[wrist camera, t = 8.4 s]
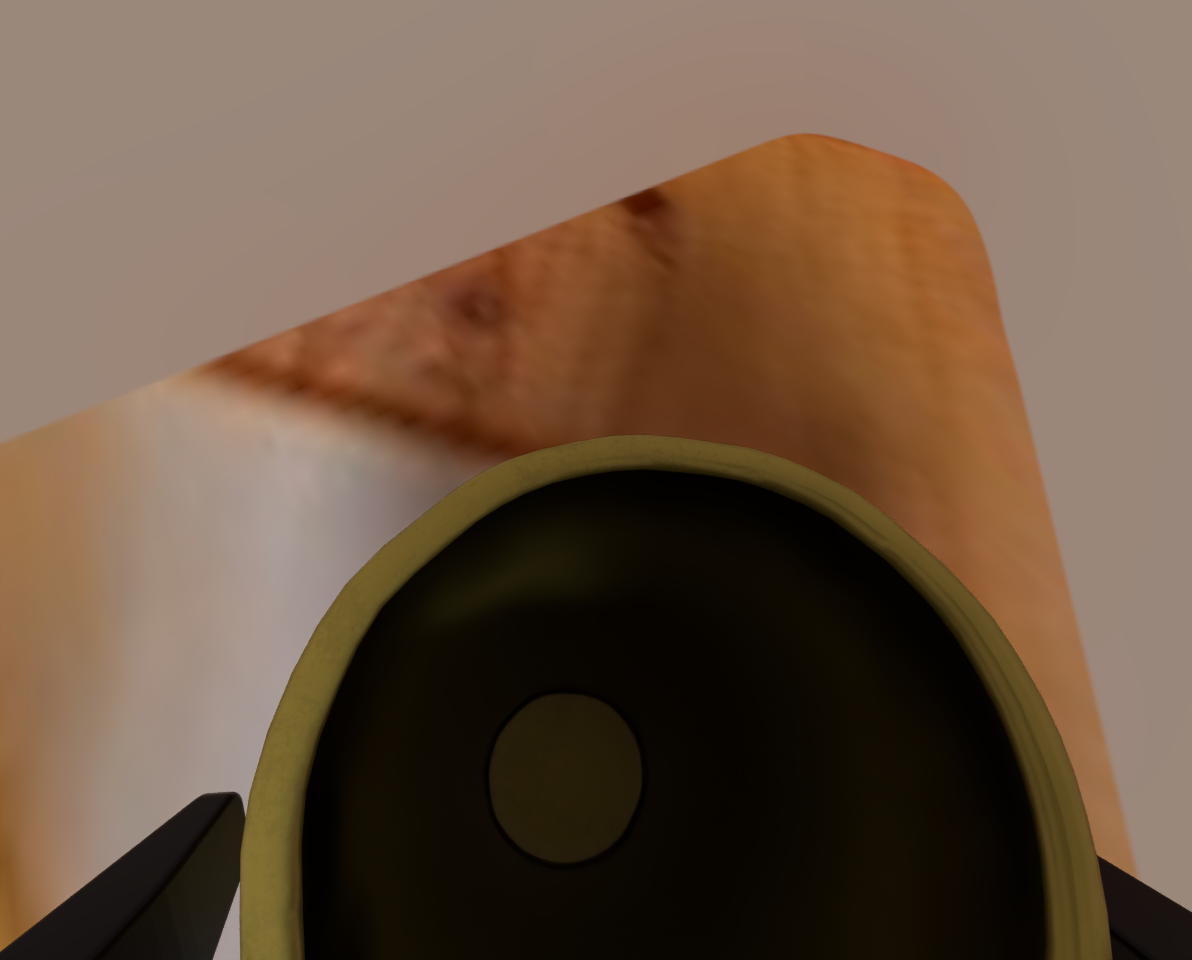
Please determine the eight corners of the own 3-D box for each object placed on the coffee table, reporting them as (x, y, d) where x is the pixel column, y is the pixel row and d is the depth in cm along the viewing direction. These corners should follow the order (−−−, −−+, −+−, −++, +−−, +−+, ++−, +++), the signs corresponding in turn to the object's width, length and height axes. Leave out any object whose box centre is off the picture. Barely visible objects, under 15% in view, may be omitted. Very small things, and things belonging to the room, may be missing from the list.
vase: (442, 688, 17) (174, 439, 4) (638, 642, 18) (898, 340, 5) (472, 939, 14) (-11, 2391, 1) (698, 865, 15) (1485, 1311, 3)
